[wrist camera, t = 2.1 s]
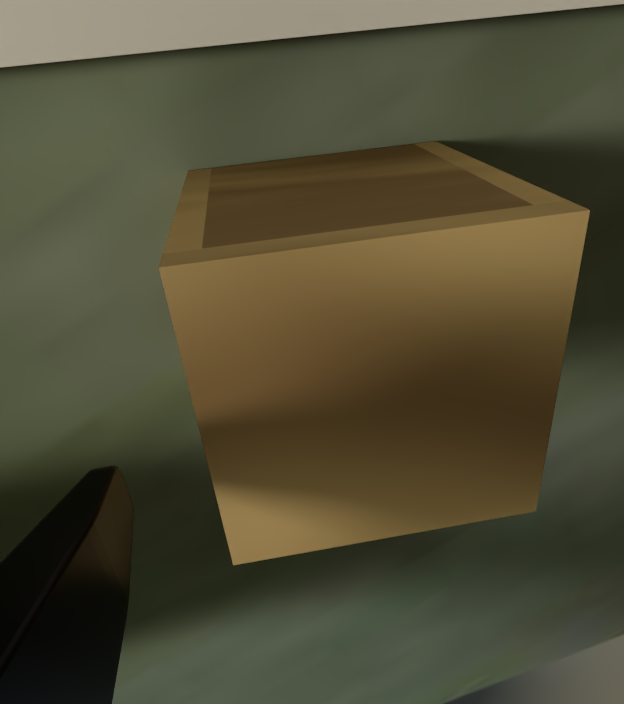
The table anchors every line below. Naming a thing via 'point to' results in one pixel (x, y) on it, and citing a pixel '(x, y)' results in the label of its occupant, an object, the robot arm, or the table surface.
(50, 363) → the table surface
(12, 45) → the base board
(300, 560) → the table surface
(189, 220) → the taped shipping carton
